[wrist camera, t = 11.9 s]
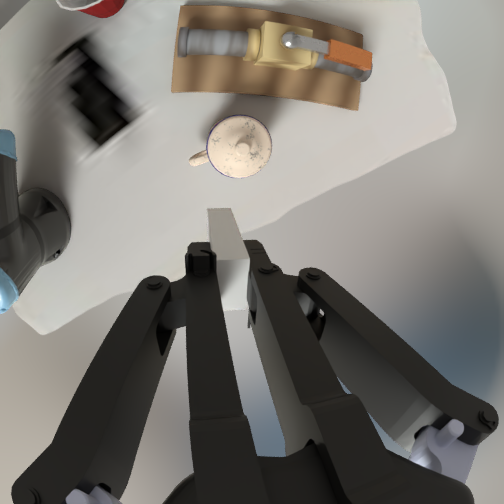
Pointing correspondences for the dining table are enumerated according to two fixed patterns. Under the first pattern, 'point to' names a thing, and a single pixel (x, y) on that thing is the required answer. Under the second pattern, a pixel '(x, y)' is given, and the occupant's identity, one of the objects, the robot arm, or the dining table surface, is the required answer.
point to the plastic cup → (93, 6)
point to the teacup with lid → (236, 147)
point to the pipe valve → (261, 56)
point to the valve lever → (330, 50)
